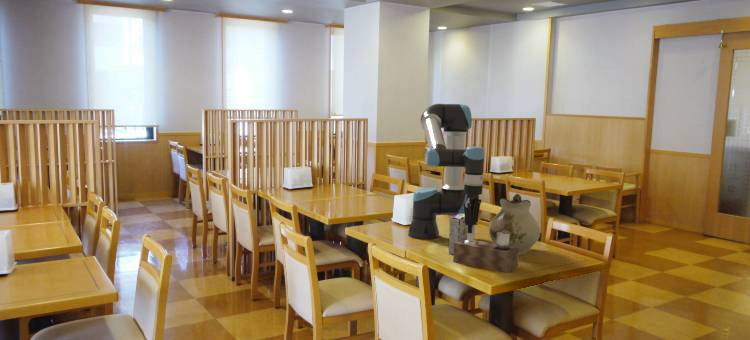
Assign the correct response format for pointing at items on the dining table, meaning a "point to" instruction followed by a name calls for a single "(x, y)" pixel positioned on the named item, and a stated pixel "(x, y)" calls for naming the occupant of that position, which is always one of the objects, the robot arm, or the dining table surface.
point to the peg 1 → (470, 242)
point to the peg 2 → (502, 241)
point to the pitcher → (516, 224)
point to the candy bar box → (457, 230)
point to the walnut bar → (486, 255)
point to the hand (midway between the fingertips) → (470, 240)
